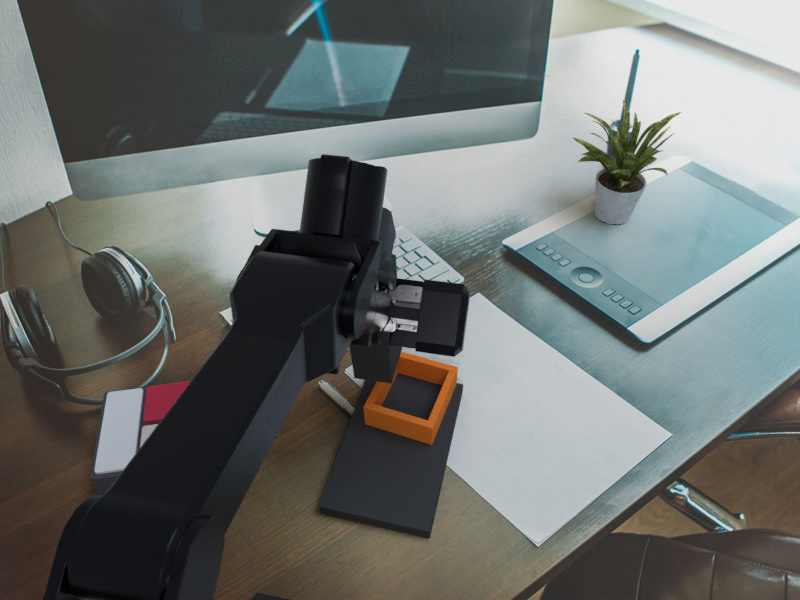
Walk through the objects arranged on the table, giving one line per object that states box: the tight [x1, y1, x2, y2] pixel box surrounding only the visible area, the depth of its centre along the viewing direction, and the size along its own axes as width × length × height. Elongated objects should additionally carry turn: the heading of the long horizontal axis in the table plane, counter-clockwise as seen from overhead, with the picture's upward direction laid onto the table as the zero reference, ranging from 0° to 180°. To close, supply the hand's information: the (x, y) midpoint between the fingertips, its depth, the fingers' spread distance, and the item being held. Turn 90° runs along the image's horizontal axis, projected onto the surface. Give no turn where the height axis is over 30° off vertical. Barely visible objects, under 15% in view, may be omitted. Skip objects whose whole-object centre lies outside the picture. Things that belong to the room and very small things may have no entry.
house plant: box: [572, 99, 682, 226], centre depth 93 cm, size 14×14×16 cm
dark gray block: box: [349, 253, 403, 383], centre depth 64 cm, size 5×4×13 cm
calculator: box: [89, 380, 191, 495], centre depth 69 cm, size 11×4×15 cm
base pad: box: [318, 351, 464, 539], centre depth 68 cm, size 19×11×4 cm, turn 166°
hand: (377, 308), depth 65 cm, fingers closed on dark gray block, 4 cm apart
